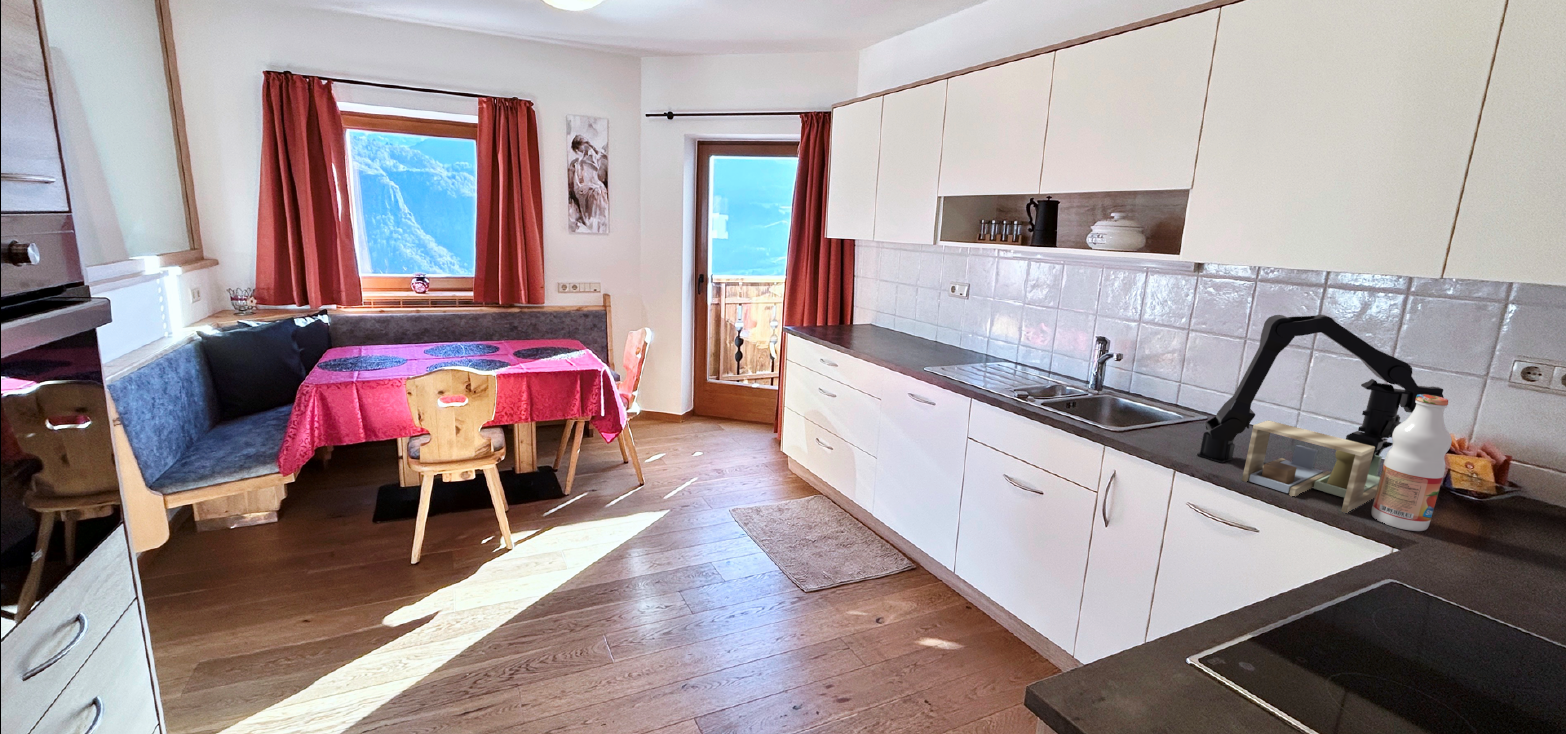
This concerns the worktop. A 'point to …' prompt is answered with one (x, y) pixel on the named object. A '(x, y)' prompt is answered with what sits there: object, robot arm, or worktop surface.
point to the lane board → (1356, 480)
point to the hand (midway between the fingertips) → (1366, 469)
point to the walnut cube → (1279, 472)
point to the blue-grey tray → (1305, 470)
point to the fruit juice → (1414, 467)
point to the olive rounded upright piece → (1341, 469)
